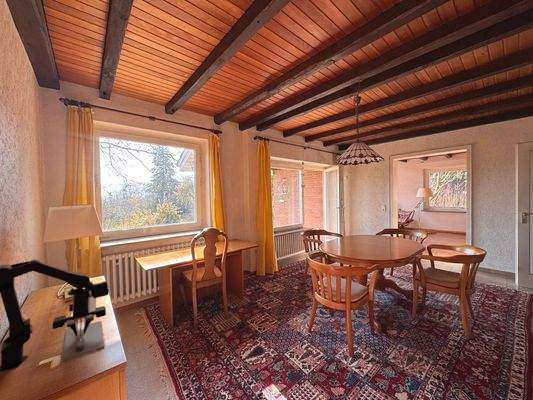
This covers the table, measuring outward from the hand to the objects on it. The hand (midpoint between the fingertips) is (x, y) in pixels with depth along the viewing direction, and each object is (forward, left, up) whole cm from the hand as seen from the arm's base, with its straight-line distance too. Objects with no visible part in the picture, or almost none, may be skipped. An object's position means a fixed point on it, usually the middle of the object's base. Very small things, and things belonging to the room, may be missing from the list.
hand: (80, 334), depth 105 cm
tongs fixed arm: (0, 0, -2) cm, 2 cm away
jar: (+30, +9, -3) cm, 32 cm away
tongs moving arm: (+2, 0, -1) cm, 2 cm away
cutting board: (0, -1, -3) cm, 3 cm away
